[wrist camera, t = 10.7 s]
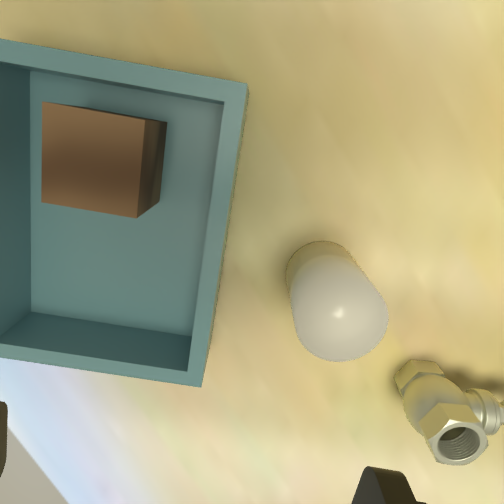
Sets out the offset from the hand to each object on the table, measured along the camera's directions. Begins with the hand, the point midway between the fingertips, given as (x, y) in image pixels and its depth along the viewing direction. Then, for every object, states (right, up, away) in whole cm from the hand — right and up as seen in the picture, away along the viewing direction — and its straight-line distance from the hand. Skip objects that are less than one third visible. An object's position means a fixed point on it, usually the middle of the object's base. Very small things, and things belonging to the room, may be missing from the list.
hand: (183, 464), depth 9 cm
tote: (-7, +7, +18) cm, 20 cm away
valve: (+18, -5, +22) cm, 29 cm away
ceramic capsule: (+6, +3, +19) cm, 20 cm away
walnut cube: (-7, +11, +16) cm, 20 cm away
